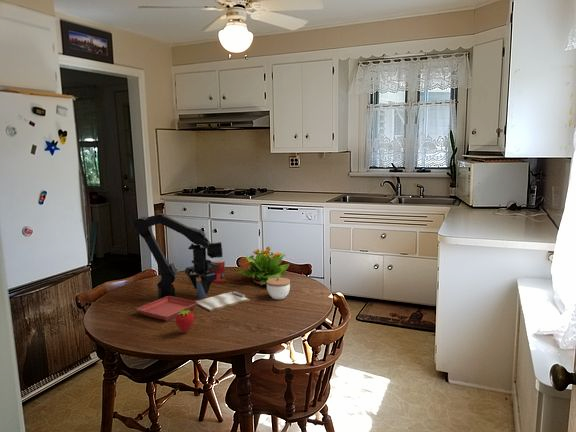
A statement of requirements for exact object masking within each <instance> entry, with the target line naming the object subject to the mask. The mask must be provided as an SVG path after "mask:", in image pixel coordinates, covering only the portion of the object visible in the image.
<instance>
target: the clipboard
mask: <svg viewBox="0 0 576 432" xmlns="http://www.w3.org/2000/svg"><path fill="white" fill-rule="evenodd" d="M250 300H251V299H250V298H248V297H246V295H245V294H243V293H241V292H238V291H236V290H234V291H228V292H224V293H220V294H216V295H212V296H209V297H205V298H200V299H198V300H194V301H195V302H198V303H197V305H196V306H198V307H200V308H202V309H204V310H206V311H208V312H211V313H212V312H214V311H215V312H216V311H218V310H222V309H224V308H229V307H232V306H235V305H239V304H243V303H246V302H249V301H250Z"/></svg>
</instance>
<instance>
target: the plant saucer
mask: <svg viewBox="0 0 576 432" xmlns="http://www.w3.org/2000/svg"><path fill="white" fill-rule="evenodd" d="M195 301H196V300H190V299H185V298H182V297H176V296H174V297H172V296H166V297H164V298H161V299H157V300H155V301H152V302H148V303H147V304H145V305H141V306H139V307H137V308H136V310H137V312H138V313H140V314H142V316H147V317H150V318H153V319H154V318H155V319H157V320H158V319H159V320H162V321H167V322H169V321H171V320H173V319H176V317H177V316H178V313H181V312H179V311H183V310H184V311H187V310H188V311H192V310H194V309H195V307H196V306H198V305H197V303H198V302H195ZM185 307H186V308H185ZM184 308H185V309H184Z"/></svg>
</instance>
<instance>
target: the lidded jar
mask: <svg viewBox="0 0 576 432" xmlns="http://www.w3.org/2000/svg"><path fill="white" fill-rule="evenodd" d="M265 285H266V290H267V293H268V295H269V296H270V297H271V298H272V299H273V300H284V299H285V298H286V297H287V295H289V293H290V289H291V280H290V278H286V277H282V276H280V277H277V278H271V279H268V280H267V281H266V284H265Z"/></svg>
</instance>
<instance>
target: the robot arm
mask: <svg viewBox="0 0 576 432" xmlns="http://www.w3.org/2000/svg"><path fill="white" fill-rule="evenodd" d="M159 224H161V225H163V226H165V227H166V228H169V229H171V230H173V231H175V232H176V233H179V234H181V235H183V236H184V237H186V239H188V240H189V241H190V242H191V244H190V245H189V246H188V248H187V249H188V250H192V257H193V258H192V259H193V260H191V264H193V266H187V267H186V268H185V269H184V272H185V273H184V274H185V275H186V276H187V277H188V279H189V281H190V282H191V284H192V286H193V289H195V290H197V281H196V278H197V277H201V283H202V286H203V289H204V292H205V294H206V295H208V294H209V291H210V287H211V284H212V283H213V282H212V281H214V280H215V279H217V274H215V273H214V272H209V271H210V270H213V271H216V272H217V269H218V265H217V264H214V263H211V261H210V259H214V258H223V256H224V255H223V248H222V247H223V245H222V242H221V241H219V242H211V241H210V240H209V239H208V238H207V237H206V233H205V231H204V230H201V229H200V228H199V229H198V228H195V227H191V226H190V227H189V226H188V225H185V224H184V223H181V222H179V221H177V220H176V219H174V218H171V217H170V216H167V215H166V214H164V213H161V212H160V213H158V214H156V215H151V216H148V217H146V216H140V217H138V218H137V219H136V220H135V221H134V223H133V228H134V229H135V231H136V232H137V234H138V235H140V237H142V238H143V239H144V242H145V243H146V246H147V247H148V249H149V251H150V252H151V254H152V256H153V258H154V260H155V262H156V264H157V265H158V268H159V275H160V277H161V278H160V279H159V281H158V282H157V284H156V285H157V297H156V299H157V300H159V299H161V298H164V297H166V296H172V297H176V288H175V287H174V284H173V283H174V282H175V280H176V278H177V276H178V269H177V268H176V266H175V264H174V262H172V263H170V262H168V259H167V258H166V256H165V254H164V252H163V251H162V248H161V246H160V245H159V242H158V240H157V239H156V237H155V235H154V233H153V227H154V226H155V225H159ZM207 256H208V257H209V258H210V259H207Z"/></svg>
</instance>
